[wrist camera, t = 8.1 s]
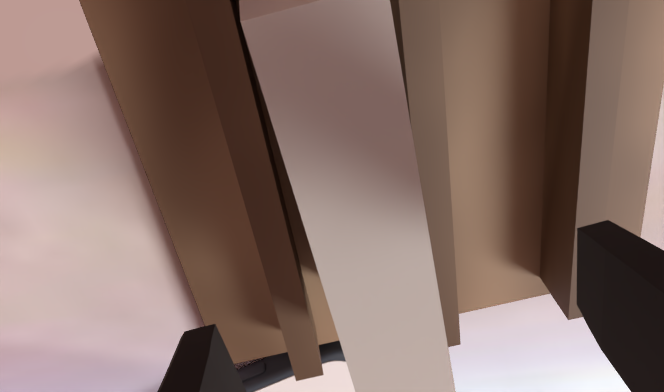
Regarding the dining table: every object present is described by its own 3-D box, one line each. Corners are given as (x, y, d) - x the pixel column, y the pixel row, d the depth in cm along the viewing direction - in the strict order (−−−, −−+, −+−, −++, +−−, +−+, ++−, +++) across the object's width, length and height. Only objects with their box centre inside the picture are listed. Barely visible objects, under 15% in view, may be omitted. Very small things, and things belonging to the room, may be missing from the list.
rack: (698, -281, 15) (796, -300, 13) (623, 262, 25) (670, 315, 23) (30, -152, 15) (-14, -145, 12) (221, 351, 25) (219, 417, 22)
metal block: (328, -81, 16) (386, -18, 10) (400, 262, 22) (460, 421, 17) (236, -56, 16) (240, 21, 10) (334, 280, 22) (371, 445, 17)
